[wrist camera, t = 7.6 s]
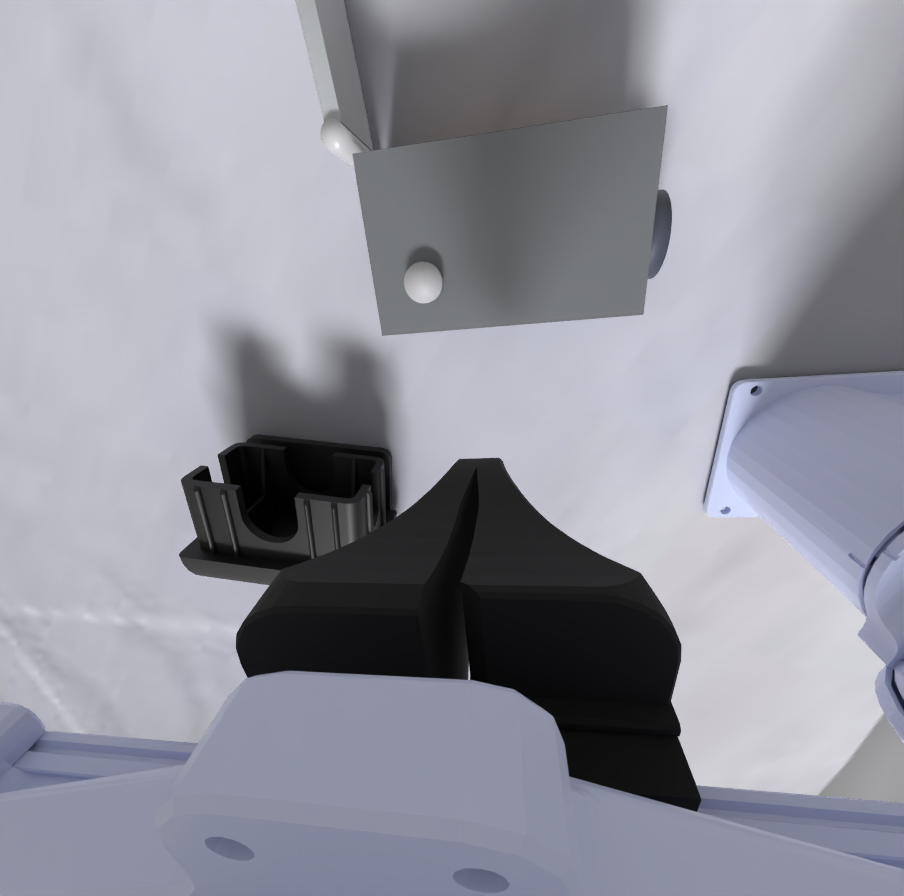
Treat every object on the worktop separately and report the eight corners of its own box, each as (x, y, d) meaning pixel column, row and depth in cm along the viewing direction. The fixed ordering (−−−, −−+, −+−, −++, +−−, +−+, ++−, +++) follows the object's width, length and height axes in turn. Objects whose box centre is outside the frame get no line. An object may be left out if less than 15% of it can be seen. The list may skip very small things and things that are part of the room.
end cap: (261, 523, 26) (190, 599, 20) (243, 432, 23) (153, 489, 17) (399, 541, 26) (369, 625, 20) (400, 449, 23) (364, 514, 17)
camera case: (643, 145, 15) (704, 93, 11) (627, 302, 18) (671, 314, 13) (387, 181, 17) (346, 149, 12) (406, 321, 19) (379, 337, 15)
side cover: (301, -113, 13) (222, -266, 9) (325, -122, 13) (254, -282, 9) (364, 180, 17) (325, 154, 13) (383, 176, 17) (349, 148, 13)
